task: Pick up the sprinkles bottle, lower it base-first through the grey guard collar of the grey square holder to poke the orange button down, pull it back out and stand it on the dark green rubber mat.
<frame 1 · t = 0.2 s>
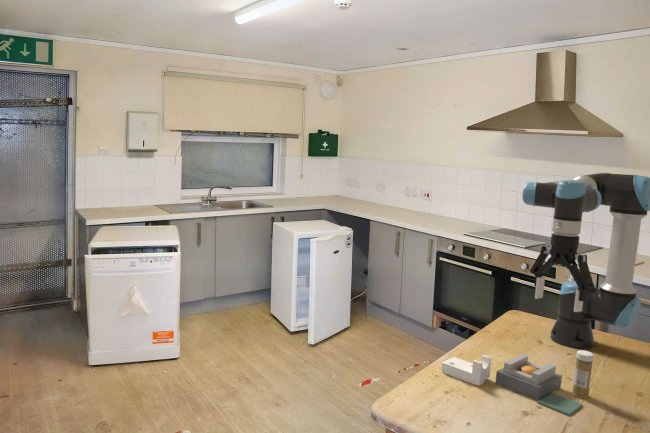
hand: (557, 304, 161), 27 cm above the table, fingers open, 13 cm apart
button: (529, 373, 167), point 4 cm above the table, slide at 0.0 cm
bracket: (465, 377, 172), on the table
grey square holder: (527, 385, 167), on the table
mat: (560, 404, 156), on the table
sprinkles bottle: (580, 395, 163), on the table
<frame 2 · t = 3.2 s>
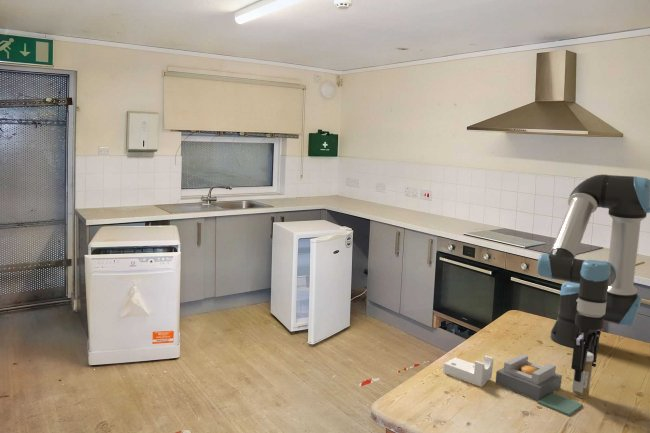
hand: (581, 388, 162), 2 cm above the table, fingers closed on sprinkles bottle, 4 cm apart
sprinkles bottle: (580, 395, 163), on the table, touching gripper
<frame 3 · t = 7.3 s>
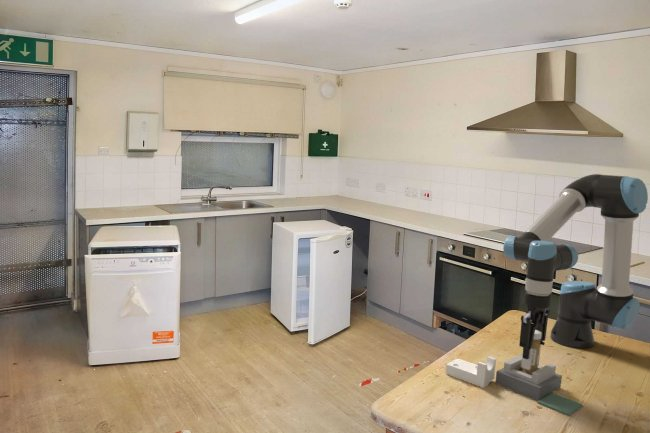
hand: (530, 365, 167), 6 cm above the table, fingers closed on sprinkles bottle, 4 cm apart
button: (528, 377, 167), point 3 cm above the table, slide at 1.3 cm
sprinkles bottle: (529, 373, 167), point 4 cm above the table, touching gripper
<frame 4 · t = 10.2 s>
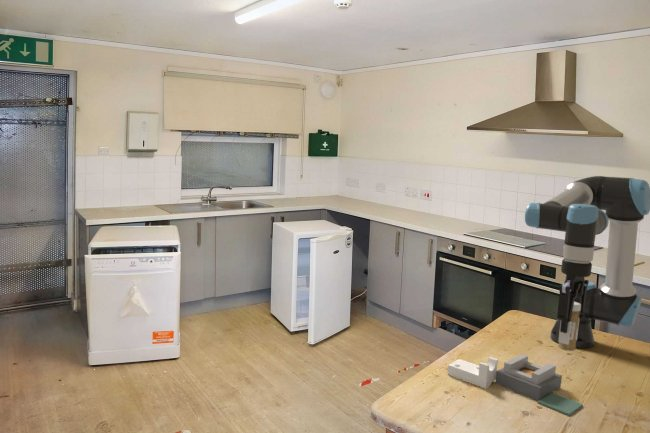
hand: (567, 340, 153), 19 cm above the table, fingers closed on sprinkles bottle, 4 cm apart
sprinkles bottle: (566, 349, 153), point 17 cm above the table, touching gripper
when the fingers open (4 cm above the table, at t = 12.6 s): sprinkles bottle stays where it is, resting on mat.
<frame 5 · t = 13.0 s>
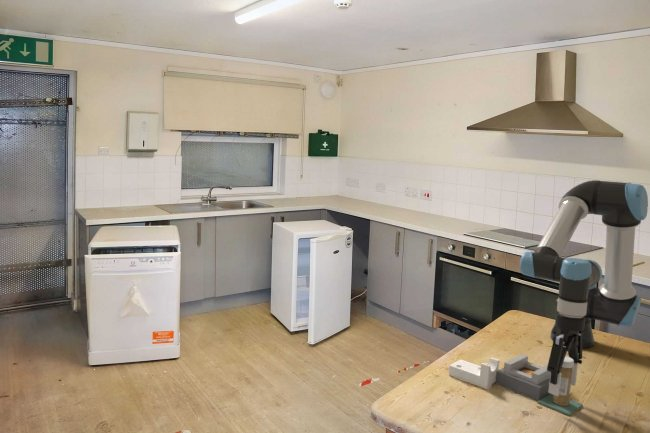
hand: (562, 388, 155), 5 cm above the table, fingers open, 10 cm apart
sprinkles bottle: (560, 403, 156), resting on mat
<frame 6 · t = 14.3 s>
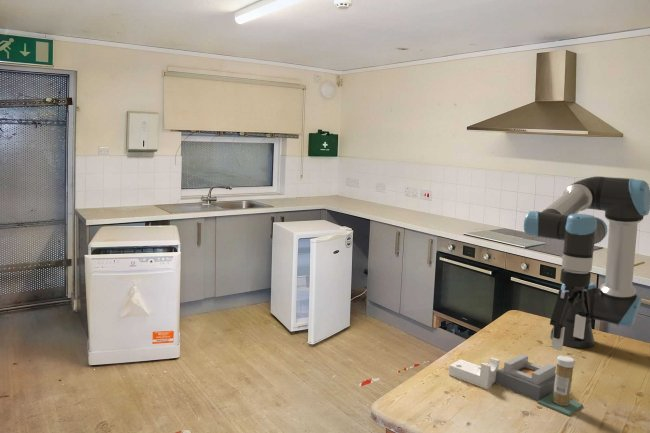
hand: (567, 343, 154), 18 cm above the table, fingers open, 13 cm apart
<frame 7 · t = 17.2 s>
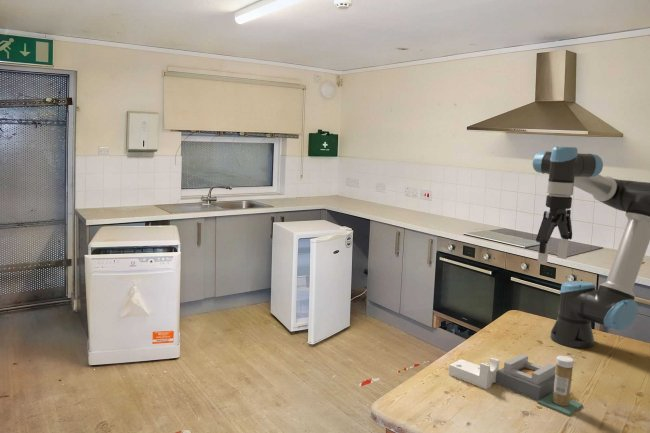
hand: (552, 260, 176), 37 cm above the table, fingers open, 13 cm apart
at the end: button slide at 1.4 cm; sprinkles bottle inside the target area on the mat (0.0 cm from its centre), point 0.4 cm above the mat's base; sprinkles bottle tilted 0° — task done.
